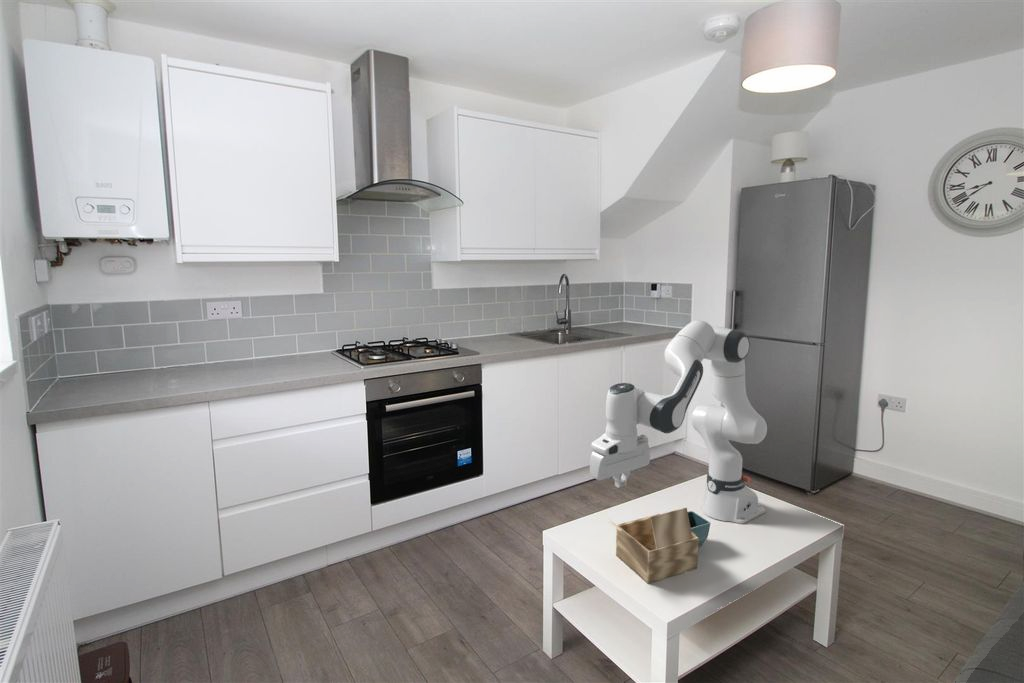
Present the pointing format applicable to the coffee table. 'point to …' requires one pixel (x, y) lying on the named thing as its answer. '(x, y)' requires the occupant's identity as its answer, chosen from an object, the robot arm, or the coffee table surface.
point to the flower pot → (699, 527)
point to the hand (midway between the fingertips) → (620, 486)
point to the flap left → (671, 528)
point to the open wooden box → (653, 552)
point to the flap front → (622, 531)
